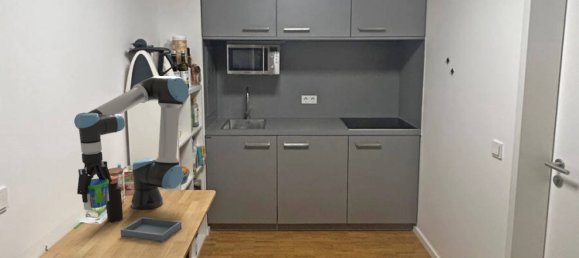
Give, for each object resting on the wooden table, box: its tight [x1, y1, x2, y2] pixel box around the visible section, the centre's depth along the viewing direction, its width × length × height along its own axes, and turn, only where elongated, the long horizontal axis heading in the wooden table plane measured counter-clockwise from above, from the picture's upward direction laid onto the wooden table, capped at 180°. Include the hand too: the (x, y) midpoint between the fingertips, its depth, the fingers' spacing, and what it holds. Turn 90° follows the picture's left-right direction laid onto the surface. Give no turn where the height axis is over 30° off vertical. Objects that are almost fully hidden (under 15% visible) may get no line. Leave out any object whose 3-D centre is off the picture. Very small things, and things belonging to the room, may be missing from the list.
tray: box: [120, 216, 183, 243], centre depth 193 cm, size 15×20×3 cm
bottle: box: [105, 175, 124, 223], centre depth 207 cm, size 7×7×20 cm
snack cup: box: [88, 177, 109, 209], centre depth 184 cm, size 16×10×10 cm
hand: (97, 205), depth 185 cm, fingers closed on snack cup, 10 cm apart
